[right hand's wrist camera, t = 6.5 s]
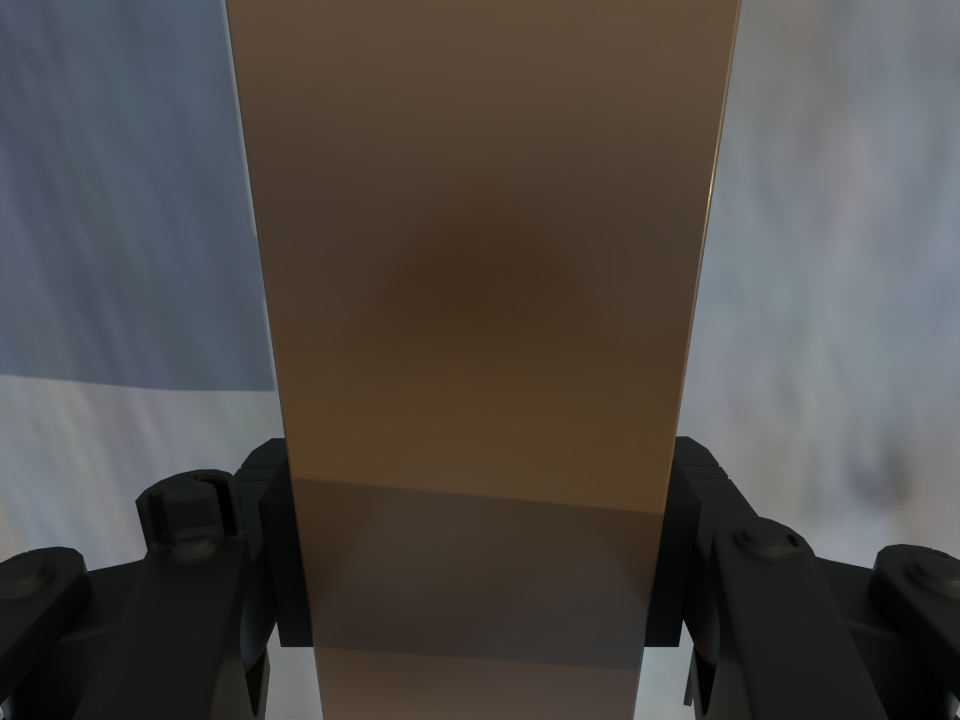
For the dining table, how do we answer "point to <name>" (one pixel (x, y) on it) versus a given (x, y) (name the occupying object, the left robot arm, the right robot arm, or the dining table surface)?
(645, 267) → the beam
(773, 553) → the right robot arm
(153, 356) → the dining table surface
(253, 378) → the dining table surface
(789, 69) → the dining table surface
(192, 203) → the dining table surface
